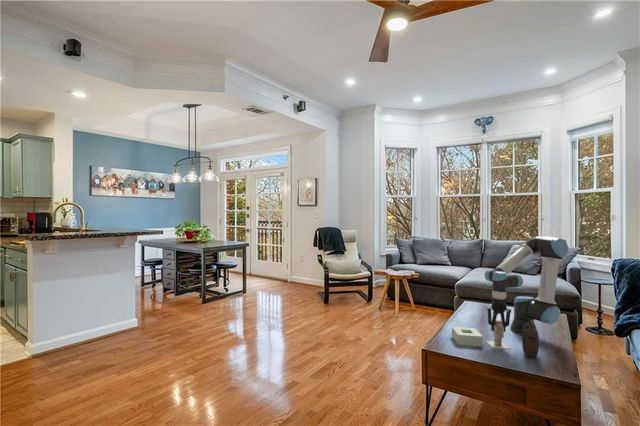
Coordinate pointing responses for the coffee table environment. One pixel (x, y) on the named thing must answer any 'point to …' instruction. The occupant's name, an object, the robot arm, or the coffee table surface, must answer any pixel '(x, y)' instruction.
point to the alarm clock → (530, 340)
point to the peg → (498, 333)
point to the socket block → (467, 336)
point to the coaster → (498, 346)
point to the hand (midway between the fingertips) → (498, 336)
